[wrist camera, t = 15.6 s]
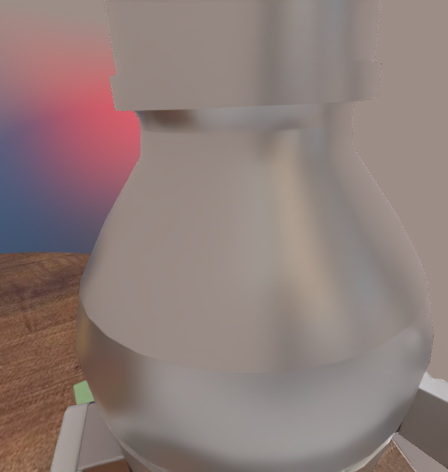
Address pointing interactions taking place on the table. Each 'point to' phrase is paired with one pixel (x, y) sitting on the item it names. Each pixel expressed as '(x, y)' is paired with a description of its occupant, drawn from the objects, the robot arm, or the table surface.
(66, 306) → the table surface
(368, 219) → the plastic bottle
